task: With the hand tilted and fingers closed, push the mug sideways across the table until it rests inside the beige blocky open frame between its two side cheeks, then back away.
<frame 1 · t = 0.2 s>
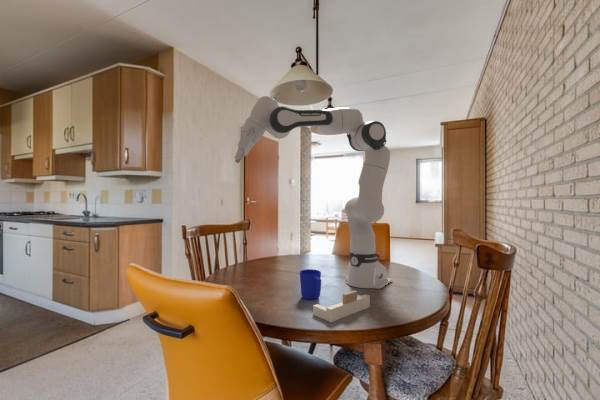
hand: (236, 161, 120), 54 cm above the table, tool tilted 30°, fingers open, 8 cm apart
beige blocky open frame: (349, 313, 98), on the table
mug: (312, 299, 111), on the table
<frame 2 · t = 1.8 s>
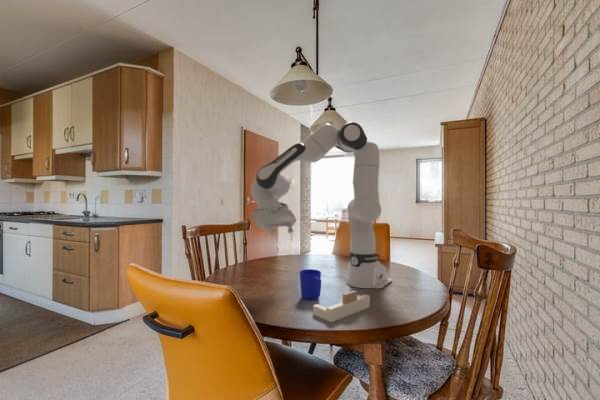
hand: (282, 232, 125), 24 cm above the table, tool tilted 45°, fingers open, 8 cm apart
nothing on the table moved.
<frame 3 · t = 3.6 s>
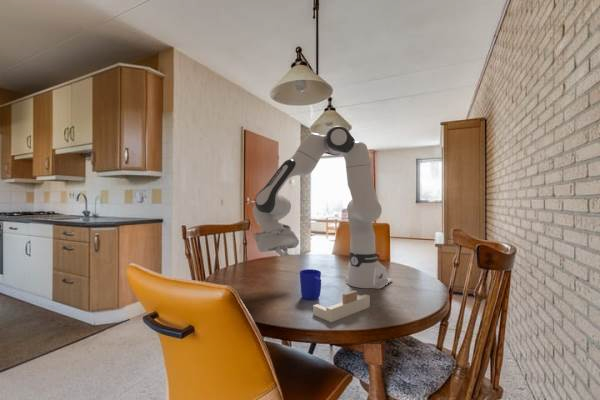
hand: (285, 256, 124), 14 cm above the table, tool tilted 45°, fingers closed
nothing on the table moved.
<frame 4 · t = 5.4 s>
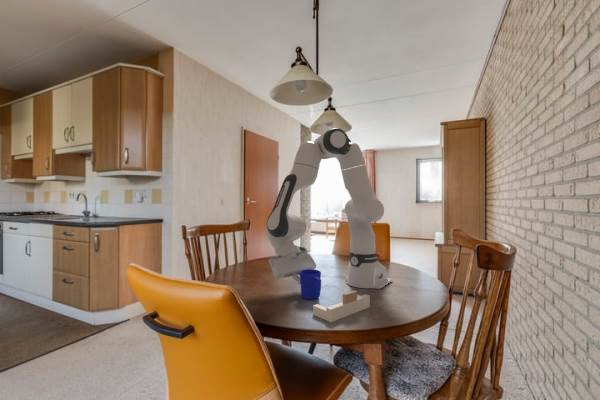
hand: (302, 283, 115), 5 cm above the table, tool tilted 45°, fingers closed
mug: (312, 299, 111), on the table, touching gripper
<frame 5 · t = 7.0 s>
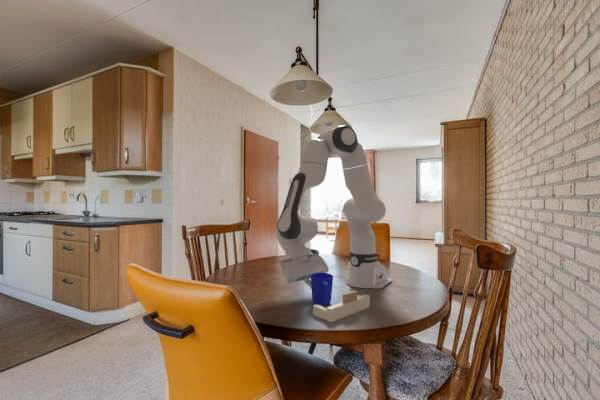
hand: (315, 287, 110), 5 cm above the table, tool tilted 45°, fingers closed, pressing on mug
mug: (322, 305, 106), on the table, touching gripper
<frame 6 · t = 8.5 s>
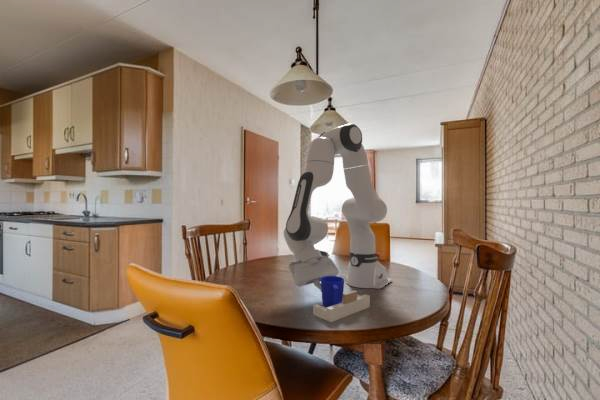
hand: (325, 291, 106), 5 cm above the table, tool tilted 45°, fingers closed, pressing on mug
mug: (333, 309, 101), on the table, touching gripper
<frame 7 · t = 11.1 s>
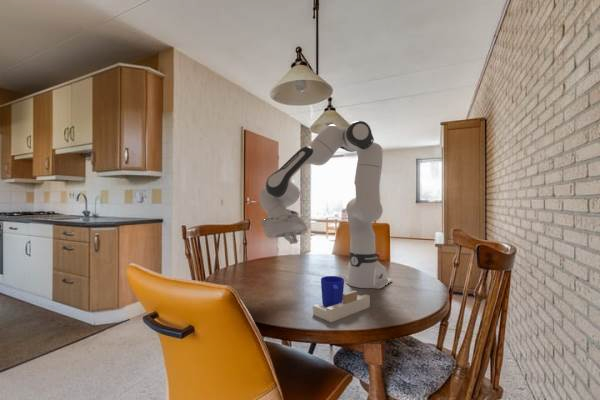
hand: (294, 242, 119), 20 cm above the table, tool tilted 45°, fingers closed
mug: (333, 309, 101), on the table
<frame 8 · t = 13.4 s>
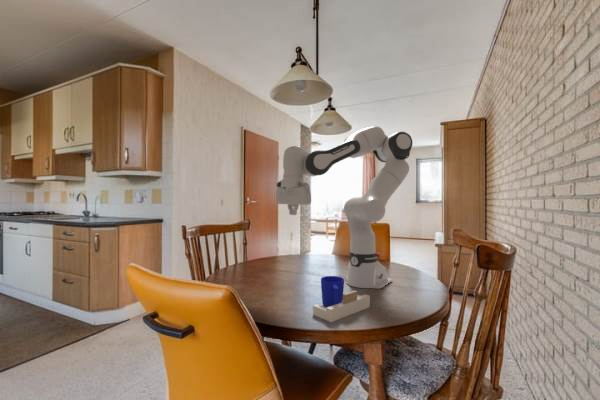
hand: (292, 214, 128), 31 cm above the table, tool pointing down, fingers closed
nothing on the table moved.
at the end: mug inside the target area (1.5 cm from its centre), on the table; mug tilted 0°; mug moved 12.2 cm from its start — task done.
